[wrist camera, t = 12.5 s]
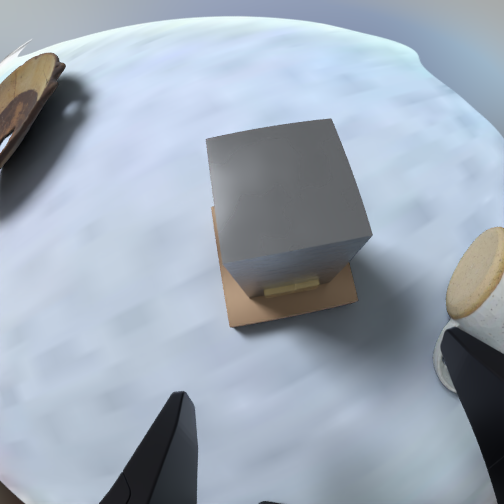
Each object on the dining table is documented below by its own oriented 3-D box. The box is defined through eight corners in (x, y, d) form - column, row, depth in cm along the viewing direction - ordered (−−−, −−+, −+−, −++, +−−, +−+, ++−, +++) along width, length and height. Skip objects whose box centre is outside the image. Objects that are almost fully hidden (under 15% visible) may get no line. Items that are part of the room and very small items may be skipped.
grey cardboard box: (330, 287, 18) (375, 243, 9) (250, 303, 18) (223, 273, 9) (310, 204, 19) (328, 113, 11) (235, 218, 20) (205, 133, 11)
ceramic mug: (460, 237, 19) (518, 198, 12) (520, 290, 17) (581, 271, 10) (401, 361, 17) (461, 373, 10) (471, 406, 16) (534, 425, 8)
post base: (353, 302, 19) (372, 293, 15) (232, 327, 19) (220, 325, 15) (324, 192, 21) (333, 161, 17) (214, 213, 21) (200, 186, 17)
